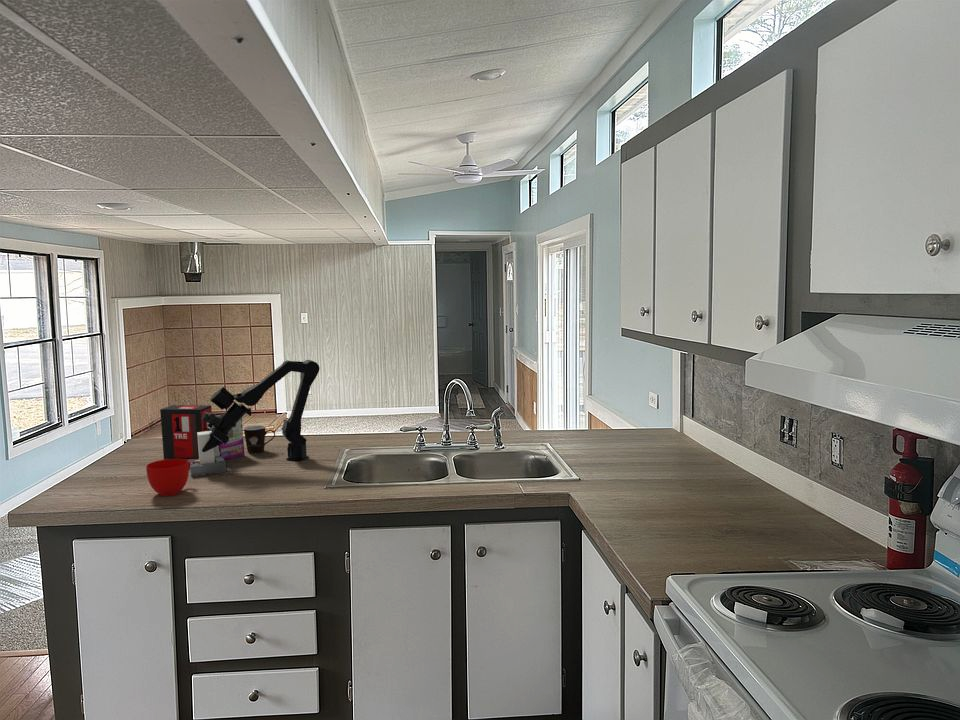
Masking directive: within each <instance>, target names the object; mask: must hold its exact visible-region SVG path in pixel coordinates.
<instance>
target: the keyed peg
mask: <svg viewBox="0 0 960 720" xmlns="http://www.w3.org/2000/svg"><path fill="white" fill-rule="evenodd" d="M211 432H212V431H205V432H197V438H198V451H199V460H195V463H198V464H205V463H213V462H215V459H214V448H212V449H210V450H208V451H206V452H203V451H202V449H203V448H204V446H205V444H206V443H207V441H208V440H209V438H210V433H211Z"/></svg>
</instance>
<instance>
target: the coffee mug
mask: <svg viewBox="0 0 960 720" xmlns="http://www.w3.org/2000/svg"><path fill="white" fill-rule="evenodd" d="M269 432H272V433H273V437H271V438H270V439H269V440H267V441H266V435H267V433H269ZM243 435H244V438H245V445H246V449H247V450H246V451H247V453H248V452H249V453H248V454H251V453H256V454H261V453H263V452H265V446H266V444H267V445H268V443H270V442H271V441H272V440H273V439H274V438H275V437H276V431H274V430H273V429H267V430H266V426H265V425H250V426H246V427H243ZM265 441H266V442H265Z"/></svg>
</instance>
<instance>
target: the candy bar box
mask: <svg viewBox="0 0 960 720" xmlns="http://www.w3.org/2000/svg"><path fill="white" fill-rule="evenodd" d="M228 433H229V434H228V437H229V441H228V442H227V443H226V444H224V443H223V444H221V445H219V446H216V447H214V456H222V457H223V459H224V461H226V459H227V460H230V458H231V459H234V457H235V458H239V457H242V455H243V456H245V444H244V427H243V417H242V418H241V419H240V420H239V421H238V422H237V424H236V426H235V427H233V428H232V429H231V430H230V431H229V432H228ZM238 456H239V457H238Z"/></svg>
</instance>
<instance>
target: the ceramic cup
mask: <svg viewBox="0 0 960 720" xmlns="http://www.w3.org/2000/svg"><path fill="white" fill-rule="evenodd" d="M188 460H189V459H160V460H156V461H152V462H150V463H148V464H147V465H146V467H145V468H146V469H145V470H146V476H147V479H148V483H149V485H150V487H151V489H152V490H153V491H154V492H155V493H157V494H158V495H159V496H163V497H169V496H170V497H171V496H174V495H178V494H179V492H180V491H182V490H183V489H184V487H185V486H186V484H187V482H188V480H189V475H190V471H189V470H190V462H189V461H188ZM177 493H178V494H177ZM180 493H181V492H180Z"/></svg>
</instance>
